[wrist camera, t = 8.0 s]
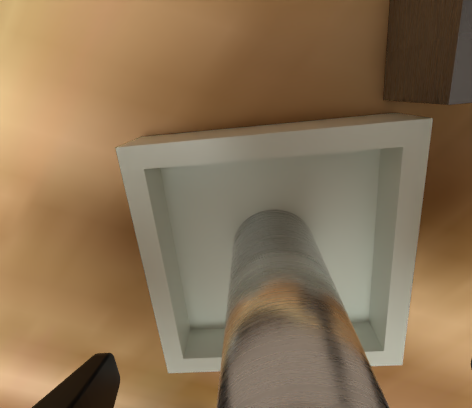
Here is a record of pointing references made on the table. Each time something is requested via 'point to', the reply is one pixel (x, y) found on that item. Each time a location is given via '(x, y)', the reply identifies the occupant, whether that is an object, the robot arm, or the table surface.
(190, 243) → the tray
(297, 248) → the pin
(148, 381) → the table surface
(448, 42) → the bracket
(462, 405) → the table surface
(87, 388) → the robot arm
